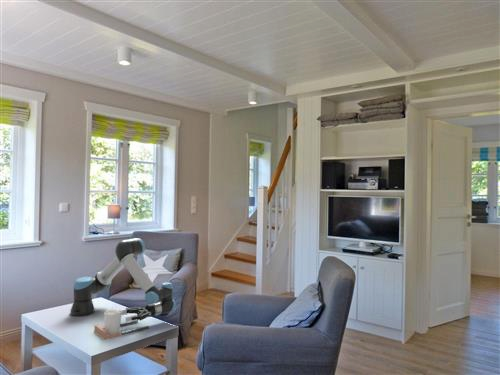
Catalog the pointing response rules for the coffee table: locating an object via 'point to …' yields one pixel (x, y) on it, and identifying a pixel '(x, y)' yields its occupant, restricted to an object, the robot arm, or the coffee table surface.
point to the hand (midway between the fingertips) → (120, 316)
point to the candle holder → (112, 321)
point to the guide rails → (132, 329)
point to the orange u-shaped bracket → (104, 332)
